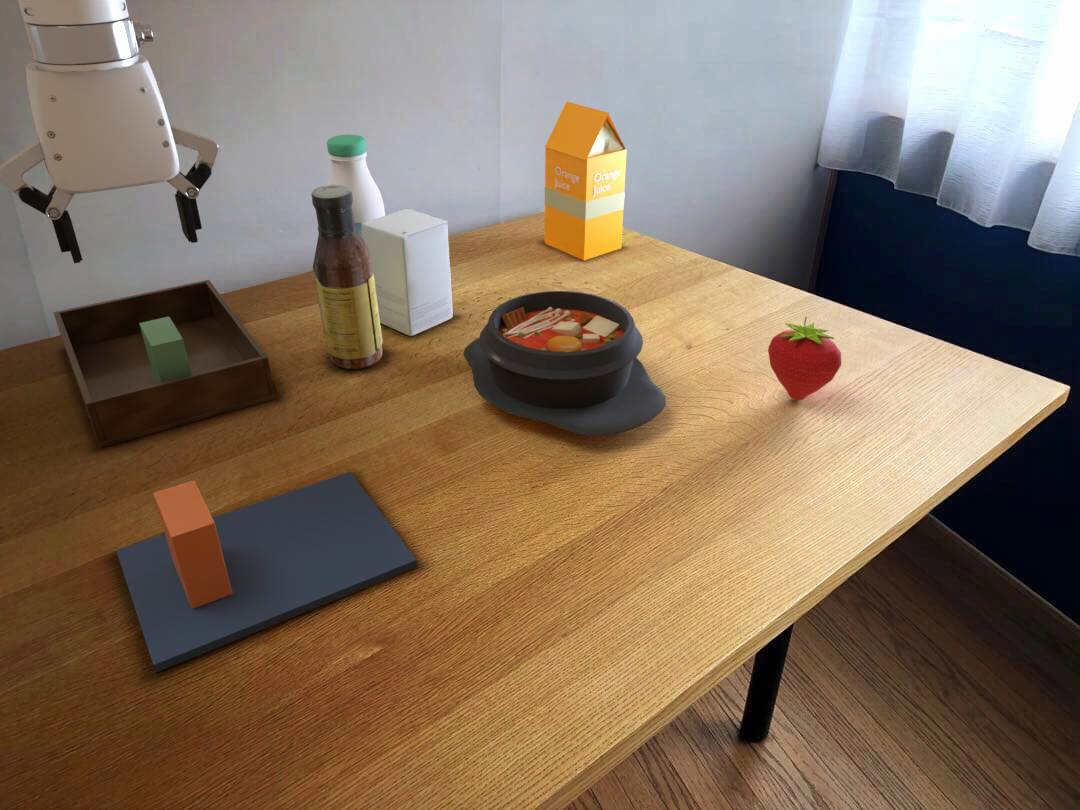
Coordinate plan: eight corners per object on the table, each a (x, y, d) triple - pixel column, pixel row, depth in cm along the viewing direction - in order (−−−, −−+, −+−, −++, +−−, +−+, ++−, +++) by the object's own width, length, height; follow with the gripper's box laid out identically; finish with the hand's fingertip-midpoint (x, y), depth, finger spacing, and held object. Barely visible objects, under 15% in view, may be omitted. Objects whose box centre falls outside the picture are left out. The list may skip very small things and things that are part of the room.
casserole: (425, 369, 96) (419, 301, 92) (555, 324, 106) (556, 260, 101) (565, 476, 79) (567, 399, 75) (705, 411, 89) (714, 339, 84)
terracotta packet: (192, 609, 64) (171, 537, 60) (173, 562, 68) (152, 492, 64) (232, 594, 65) (214, 522, 61) (212, 549, 69) (193, 479, 66)
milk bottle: (373, 274, 118) (358, 126, 108) (403, 293, 113) (390, 139, 103) (323, 289, 114) (301, 136, 104) (351, 309, 109) (332, 150, 99)
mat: (156, 673, 60) (153, 665, 59) (118, 557, 70) (115, 549, 69) (417, 567, 69) (416, 559, 68) (351, 478, 79) (350, 471, 78)
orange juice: (582, 231, 133) (586, 97, 122) (622, 248, 127) (630, 108, 117) (543, 243, 129) (544, 105, 118) (583, 261, 123) (587, 117, 112)
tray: (100, 448, 83) (86, 404, 80) (65, 351, 99) (53, 312, 97) (275, 398, 91) (268, 357, 88) (216, 316, 107) (208, 279, 105)
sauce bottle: (354, 341, 102) (333, 175, 91) (395, 354, 99) (378, 184, 89) (315, 364, 97) (288, 192, 86) (357, 379, 94) (335, 202, 84)
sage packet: (167, 406, 88) (151, 346, 85) (154, 381, 93) (139, 322, 89) (197, 398, 90) (182, 338, 86) (183, 374, 94) (169, 316, 90)
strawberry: (818, 424, 87) (836, 336, 82) (750, 399, 91) (763, 314, 86) (841, 400, 91) (860, 315, 86) (775, 377, 95) (789, 294, 90)
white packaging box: (455, 318, 107) (450, 220, 100) (409, 338, 102) (401, 237, 96) (415, 301, 111) (408, 206, 105) (370, 319, 107) (359, 221, 100)
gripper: (186, 29, 75) (223, 219, 84) (-43, 45, 67) (24, 251, 76) (206, 43, 69) (243, 243, 78) (-41, 61, 62) (31, 281, 71)
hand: (135, 247), depth 77 cm, fingers open, 9 cm apart
